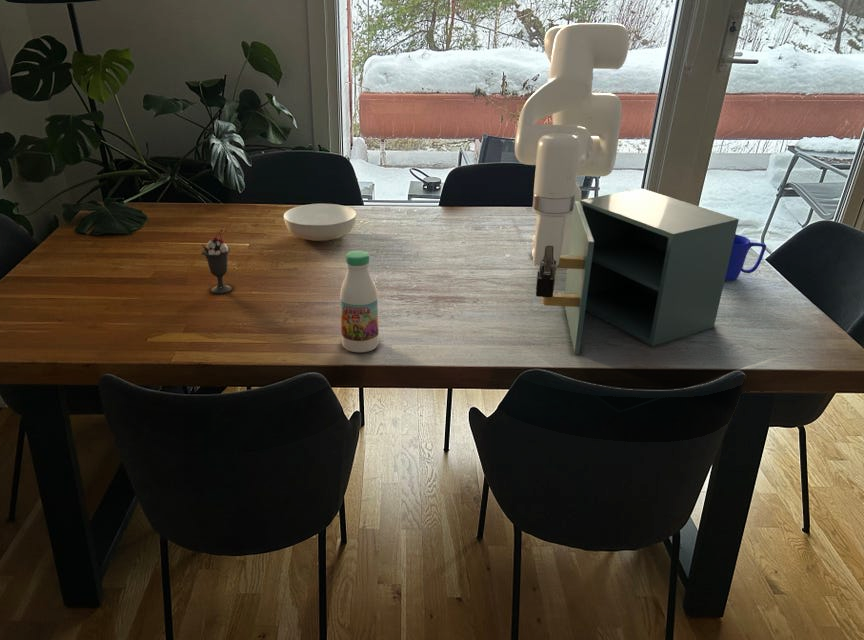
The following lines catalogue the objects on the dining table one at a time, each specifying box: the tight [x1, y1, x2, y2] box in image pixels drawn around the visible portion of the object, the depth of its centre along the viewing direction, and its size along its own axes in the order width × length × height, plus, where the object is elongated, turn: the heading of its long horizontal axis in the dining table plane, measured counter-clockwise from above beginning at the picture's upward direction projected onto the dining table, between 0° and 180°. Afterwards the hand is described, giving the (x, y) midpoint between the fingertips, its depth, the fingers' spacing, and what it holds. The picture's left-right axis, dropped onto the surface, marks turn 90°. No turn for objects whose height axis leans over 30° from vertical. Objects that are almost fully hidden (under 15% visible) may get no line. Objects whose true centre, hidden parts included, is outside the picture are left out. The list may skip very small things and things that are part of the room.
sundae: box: [201, 229, 233, 295], centre depth 173 cm, size 7×7×15 cm
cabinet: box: [580, 188, 740, 347], centre depth 155 cm, size 18×26×24 cm
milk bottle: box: [339, 250, 380, 353], centre depth 145 cm, size 8×8×20 cm
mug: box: [724, 234, 767, 282], centre depth 176 cm, size 8×12×10 cm
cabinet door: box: [541, 201, 594, 355], centre depth 151 cm, size 8×26×24 cm, turn 172°
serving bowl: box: [283, 203, 357, 242], centre depth 208 cm, size 21×21×7 cm
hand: (544, 292), depth 143 cm, fingers closed on cabinet door, 2 cm apart
